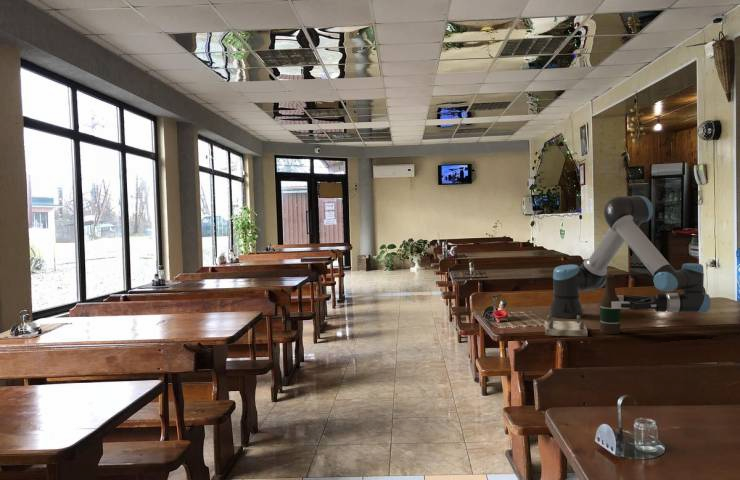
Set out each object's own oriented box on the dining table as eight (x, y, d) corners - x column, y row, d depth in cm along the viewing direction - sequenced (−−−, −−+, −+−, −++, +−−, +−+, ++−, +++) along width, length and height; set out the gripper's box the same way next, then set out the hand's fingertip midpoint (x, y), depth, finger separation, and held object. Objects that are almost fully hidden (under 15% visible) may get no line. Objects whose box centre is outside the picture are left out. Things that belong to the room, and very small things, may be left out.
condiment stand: (546, 335, 239) (545, 322, 238) (544, 326, 254) (544, 314, 254) (587, 336, 235) (587, 323, 234) (583, 327, 250) (583, 314, 250)
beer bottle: (619, 330, 242) (619, 273, 241) (621, 335, 235) (621, 276, 233) (599, 329, 245) (599, 273, 243) (600, 334, 238) (600, 276, 236)
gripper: (673, 318, 222) (614, 317, 227) (658, 305, 246) (604, 305, 251) (673, 299, 221) (614, 298, 226) (658, 288, 245) (604, 287, 251)
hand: (609, 301), depth 239 cm, fingers open, 13 cm apart
